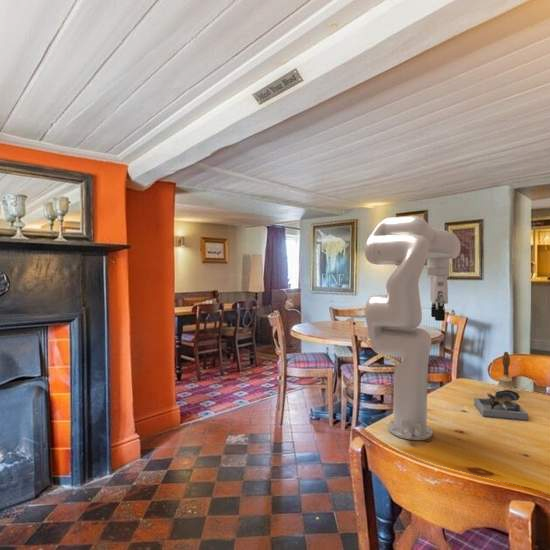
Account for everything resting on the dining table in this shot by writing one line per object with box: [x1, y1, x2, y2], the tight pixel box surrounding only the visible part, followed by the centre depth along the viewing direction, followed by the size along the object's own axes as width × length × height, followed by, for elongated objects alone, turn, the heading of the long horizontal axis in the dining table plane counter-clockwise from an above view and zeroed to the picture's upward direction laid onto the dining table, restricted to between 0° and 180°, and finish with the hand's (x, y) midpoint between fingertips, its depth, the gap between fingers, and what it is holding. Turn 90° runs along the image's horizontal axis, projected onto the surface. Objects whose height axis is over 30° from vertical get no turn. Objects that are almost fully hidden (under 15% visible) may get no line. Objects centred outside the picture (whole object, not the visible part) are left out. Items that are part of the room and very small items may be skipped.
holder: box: [473, 397, 529, 422], centre depth 130 cm, size 12×13×2 cm
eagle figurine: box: [486, 390, 521, 411], centre depth 130 cm, size 8×7×9 cm
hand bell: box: [493, 351, 519, 394], centre depth 151 cm, size 8×8×16 cm
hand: (437, 318), depth 142 cm, fingers open, 9 cm apart
